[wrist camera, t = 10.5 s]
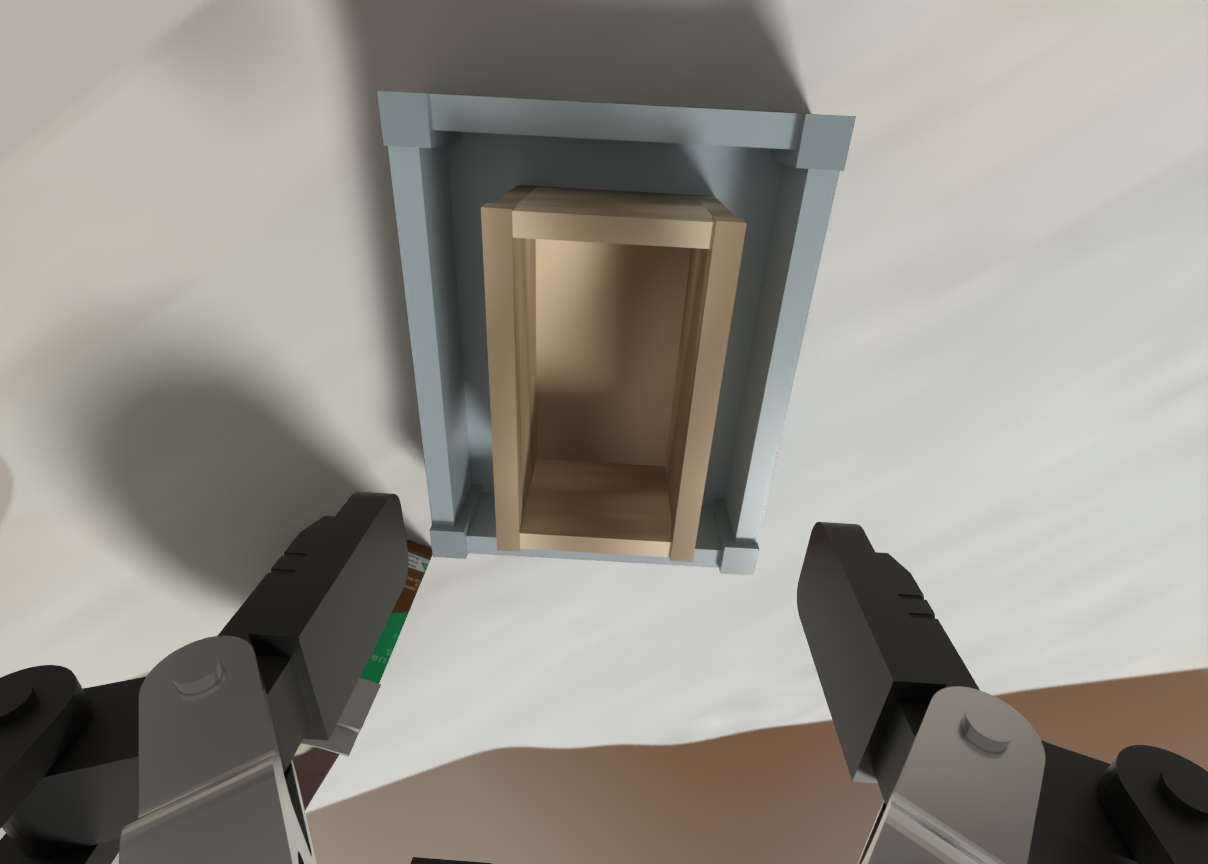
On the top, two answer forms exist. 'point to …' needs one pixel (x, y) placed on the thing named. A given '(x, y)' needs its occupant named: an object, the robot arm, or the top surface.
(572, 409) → the small crate
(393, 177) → the crate
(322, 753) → the food container
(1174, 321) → the top surface
